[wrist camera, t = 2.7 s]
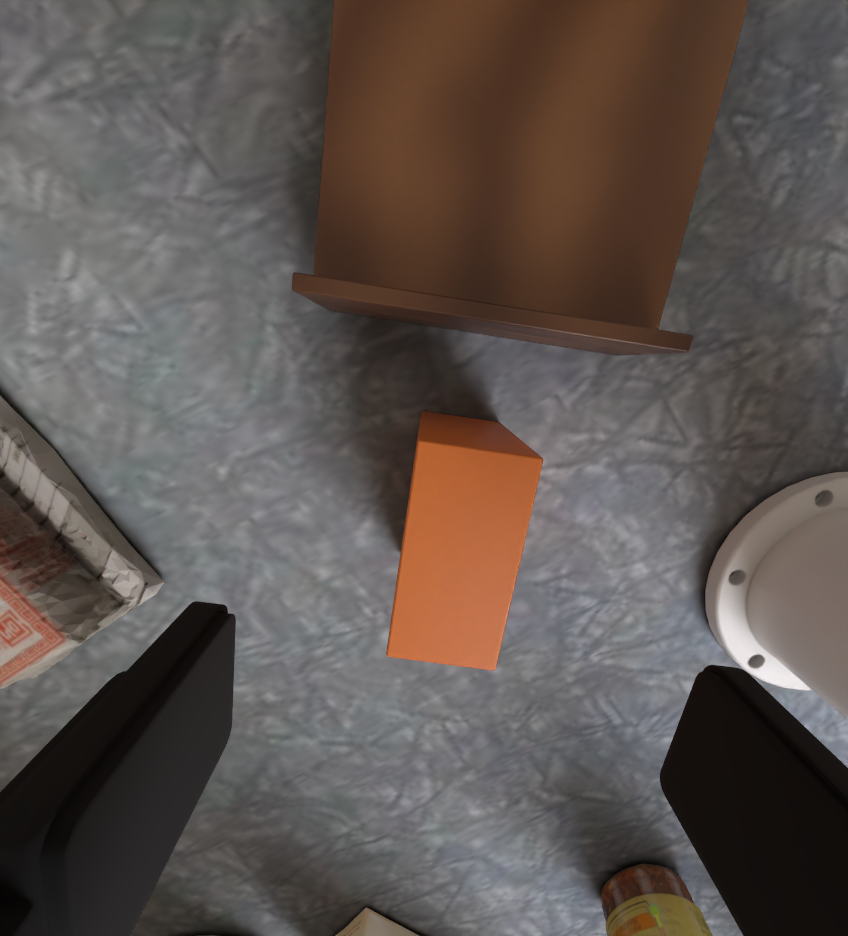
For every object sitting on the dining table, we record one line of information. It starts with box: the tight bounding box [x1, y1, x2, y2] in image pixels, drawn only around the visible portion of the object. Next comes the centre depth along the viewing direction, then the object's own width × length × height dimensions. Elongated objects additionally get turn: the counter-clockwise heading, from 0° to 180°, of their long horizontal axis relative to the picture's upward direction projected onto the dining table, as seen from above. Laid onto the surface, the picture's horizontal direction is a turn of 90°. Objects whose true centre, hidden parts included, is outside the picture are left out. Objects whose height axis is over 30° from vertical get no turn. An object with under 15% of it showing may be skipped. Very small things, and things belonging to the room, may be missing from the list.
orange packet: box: [386, 411, 543, 670], centre depth 18 cm, size 4×8×8 cm, turn 171°
